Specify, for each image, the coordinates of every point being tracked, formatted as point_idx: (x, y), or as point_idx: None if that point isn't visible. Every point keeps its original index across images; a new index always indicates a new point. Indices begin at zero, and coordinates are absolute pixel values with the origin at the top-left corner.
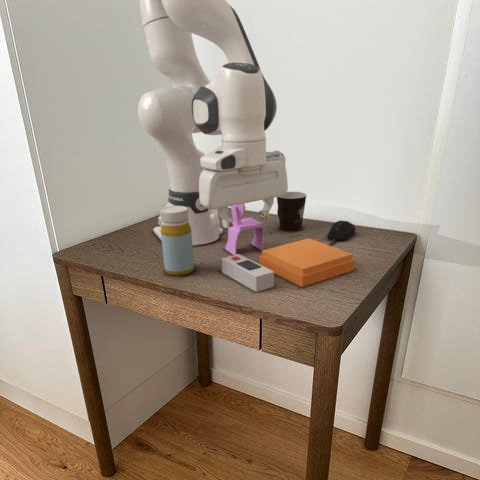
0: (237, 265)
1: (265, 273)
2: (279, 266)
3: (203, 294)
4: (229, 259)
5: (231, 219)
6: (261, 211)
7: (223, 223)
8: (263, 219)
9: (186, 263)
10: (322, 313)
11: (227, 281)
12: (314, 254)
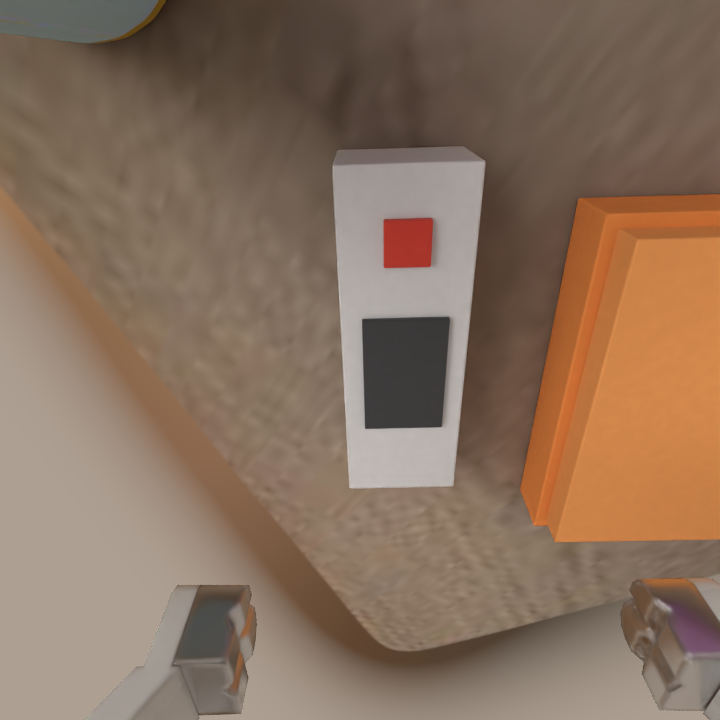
0: (353, 339)
1: (405, 484)
2: (560, 399)
3: (138, 341)
4: (367, 223)
5: (225, 710)
6: (677, 682)
7: (169, 619)
8: (621, 622)
9: (68, 37)
10: (424, 611)
11: (302, 280)
12: None
